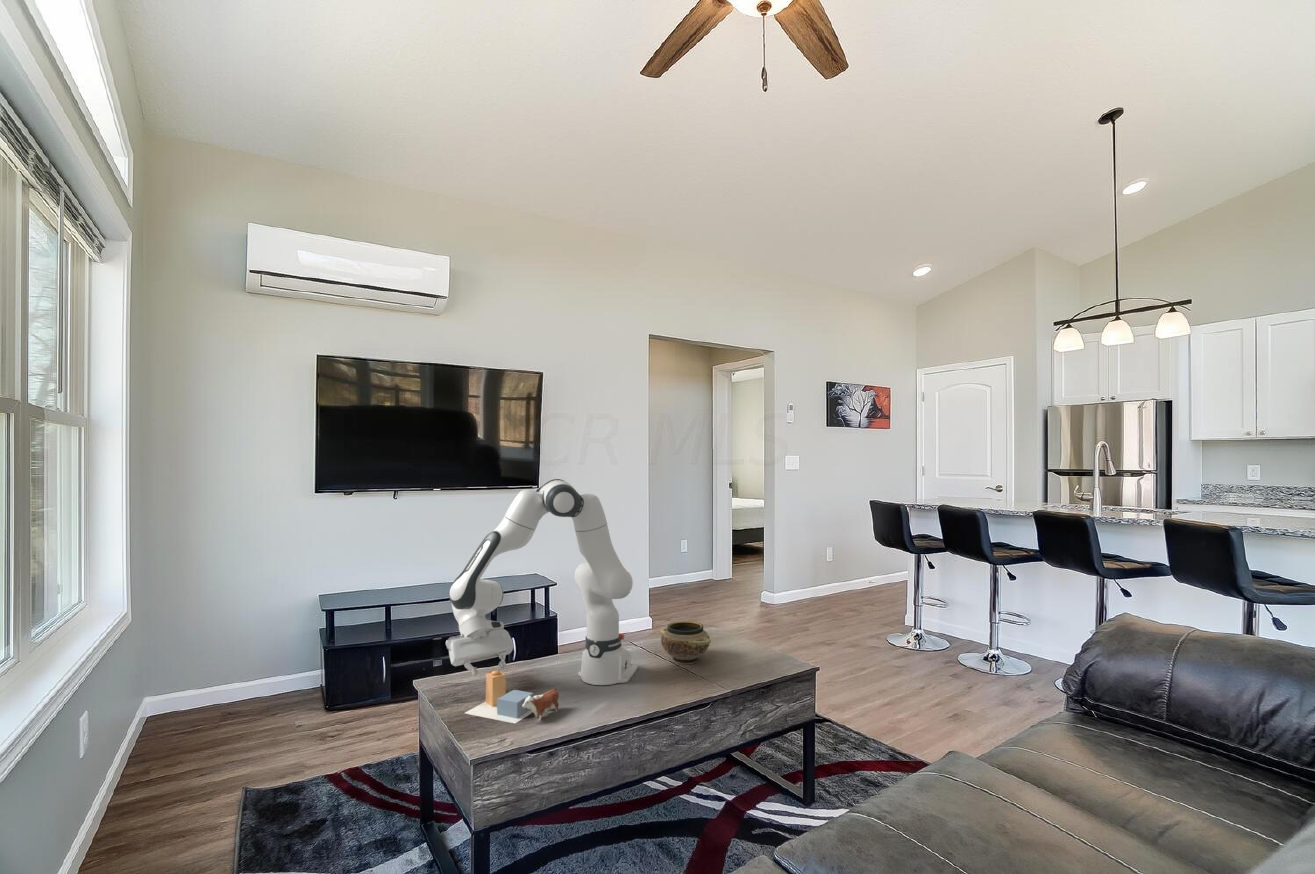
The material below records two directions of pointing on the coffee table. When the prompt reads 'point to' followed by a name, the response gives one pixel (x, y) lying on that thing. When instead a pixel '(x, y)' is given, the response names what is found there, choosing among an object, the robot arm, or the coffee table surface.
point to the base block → (513, 704)
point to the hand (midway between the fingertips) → (489, 670)
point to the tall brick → (495, 687)
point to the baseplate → (493, 713)
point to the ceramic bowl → (685, 641)
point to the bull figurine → (542, 702)
